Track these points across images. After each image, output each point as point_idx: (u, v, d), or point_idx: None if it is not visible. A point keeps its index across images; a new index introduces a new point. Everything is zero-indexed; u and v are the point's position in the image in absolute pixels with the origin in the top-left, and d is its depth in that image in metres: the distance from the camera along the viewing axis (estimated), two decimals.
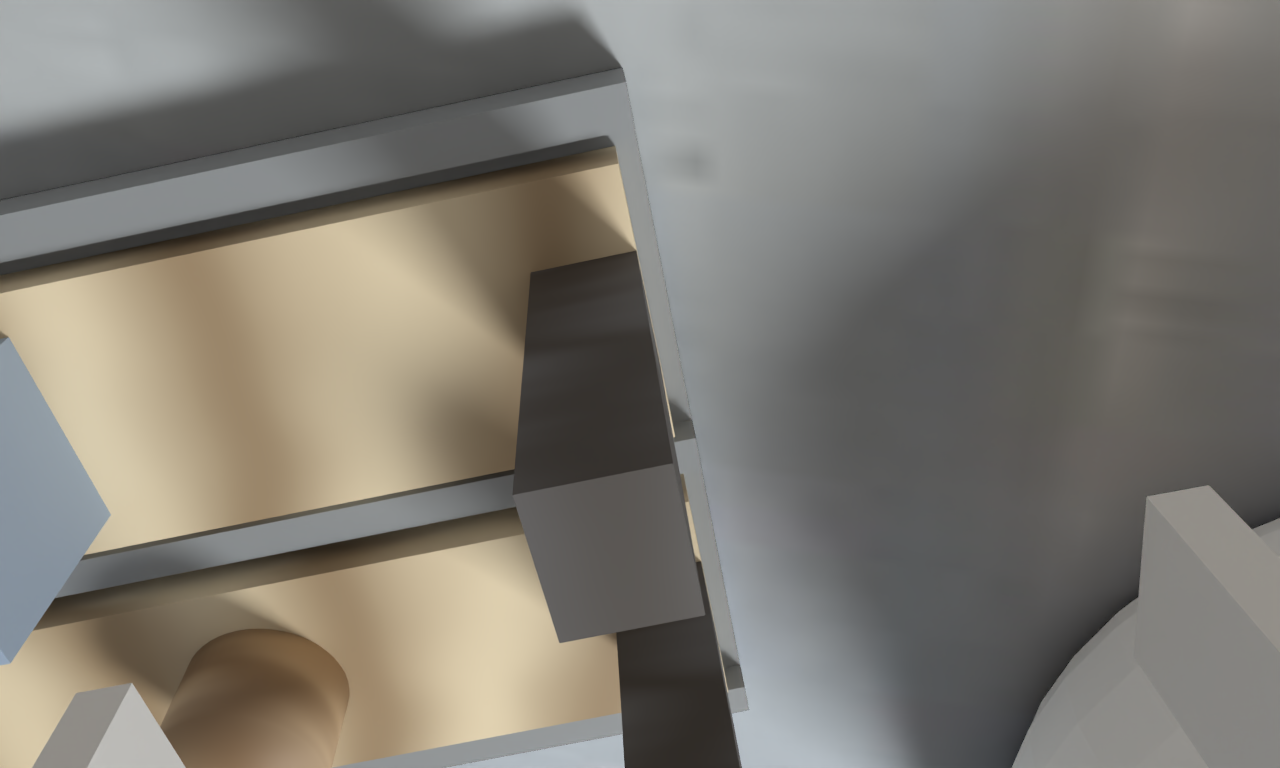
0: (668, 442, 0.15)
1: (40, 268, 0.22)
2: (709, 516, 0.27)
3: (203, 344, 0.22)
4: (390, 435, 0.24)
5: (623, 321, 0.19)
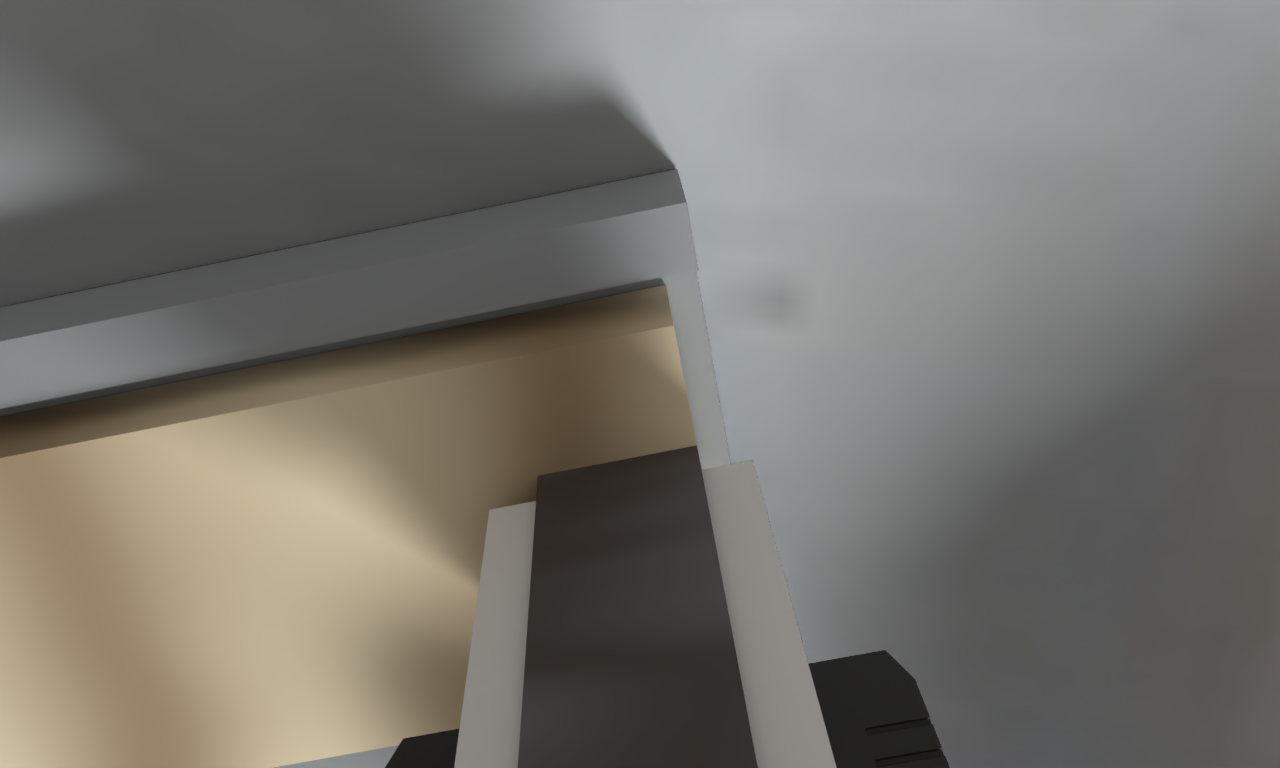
0: None
1: None
2: None
3: (54, 574, 0.15)
4: (335, 685, 0.16)
5: (687, 613, 0.11)
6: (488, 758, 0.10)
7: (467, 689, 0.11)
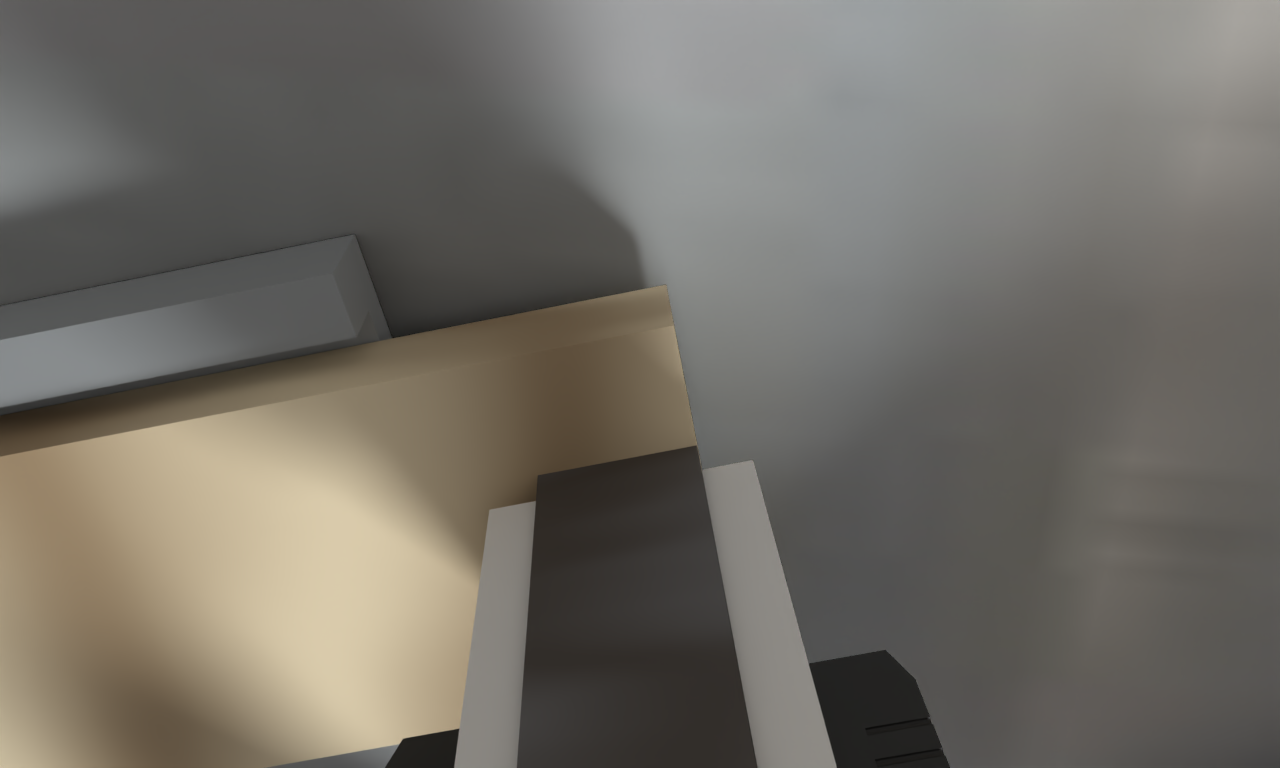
0: None
1: None
2: None
3: (54, 572, 0.15)
4: (335, 684, 0.16)
5: (687, 612, 0.11)
6: (488, 758, 0.10)
7: (467, 689, 0.11)
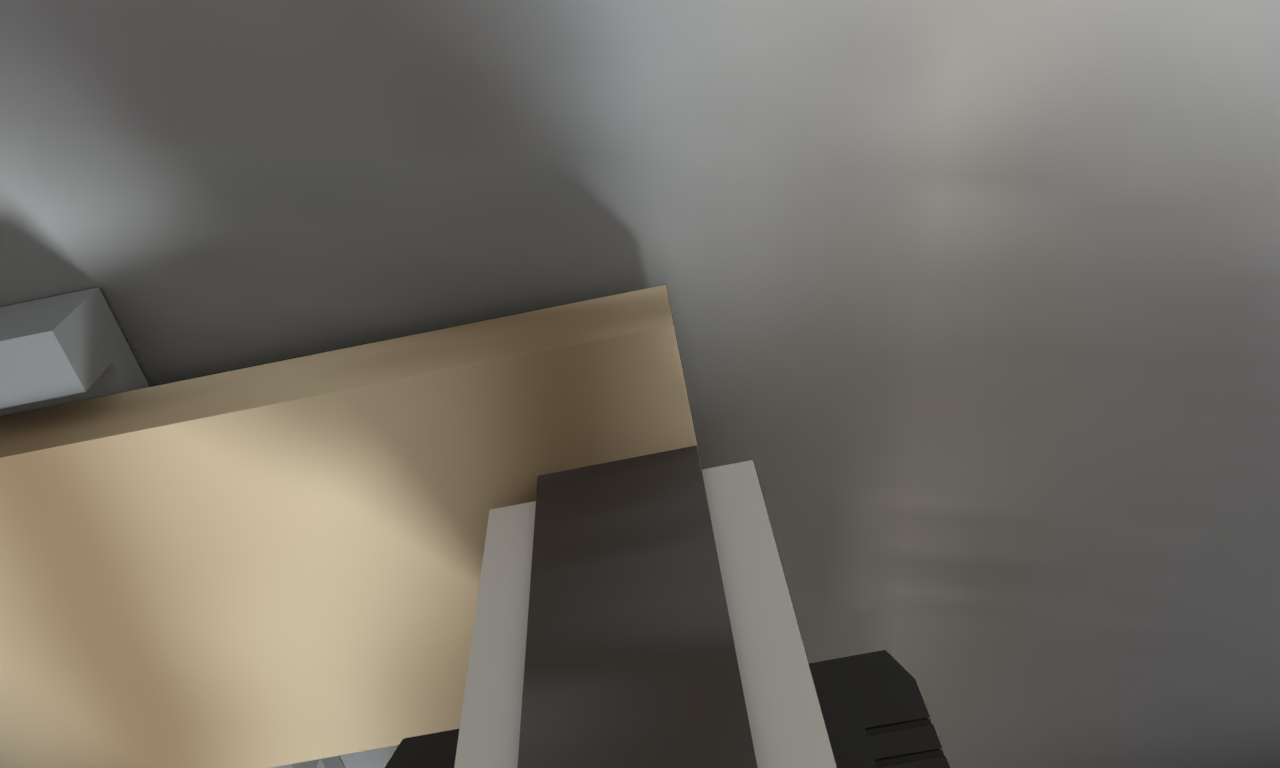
0: None
1: None
2: None
3: (54, 573, 0.15)
4: (335, 685, 0.16)
5: (687, 613, 0.11)
6: (488, 758, 0.10)
7: (467, 689, 0.11)
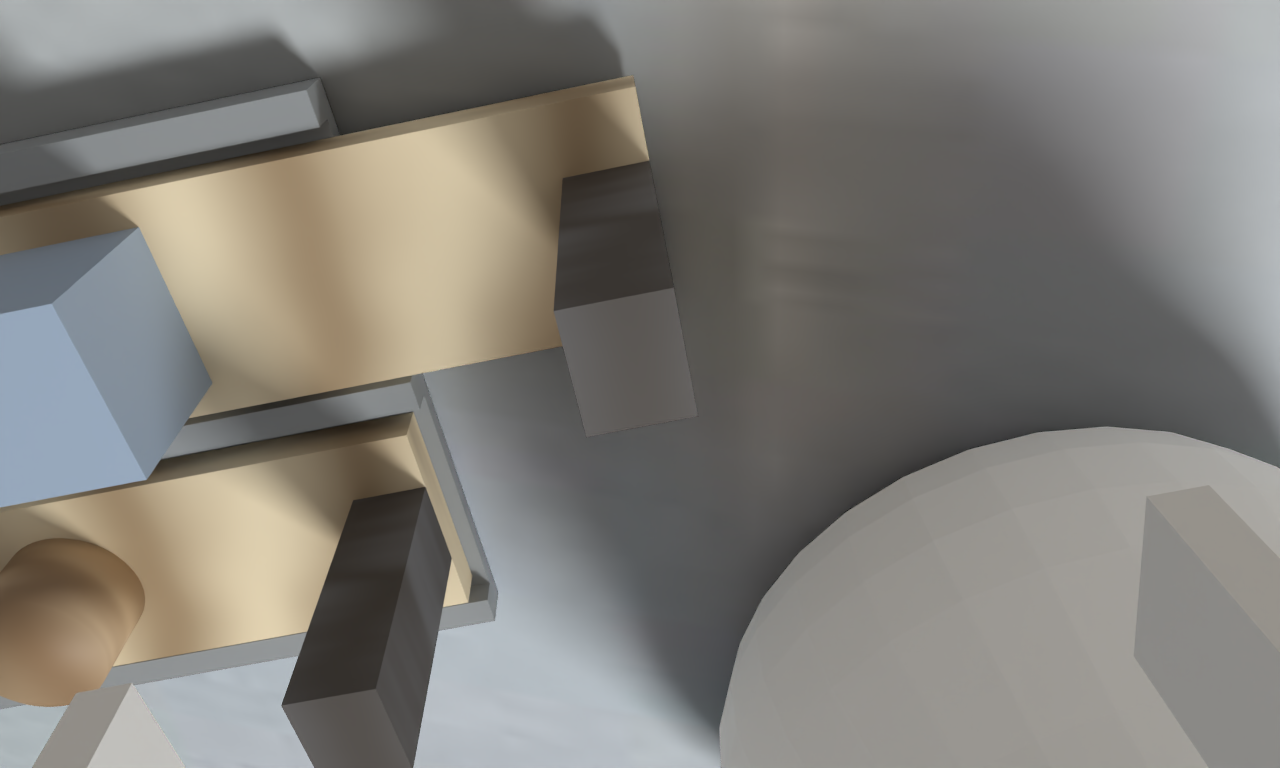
0: (670, 276, 0.20)
1: (162, 173, 0.27)
2: (442, 451, 0.32)
3: (295, 235, 0.27)
4: (444, 317, 0.28)
5: (637, 206, 0.23)
6: None
7: None
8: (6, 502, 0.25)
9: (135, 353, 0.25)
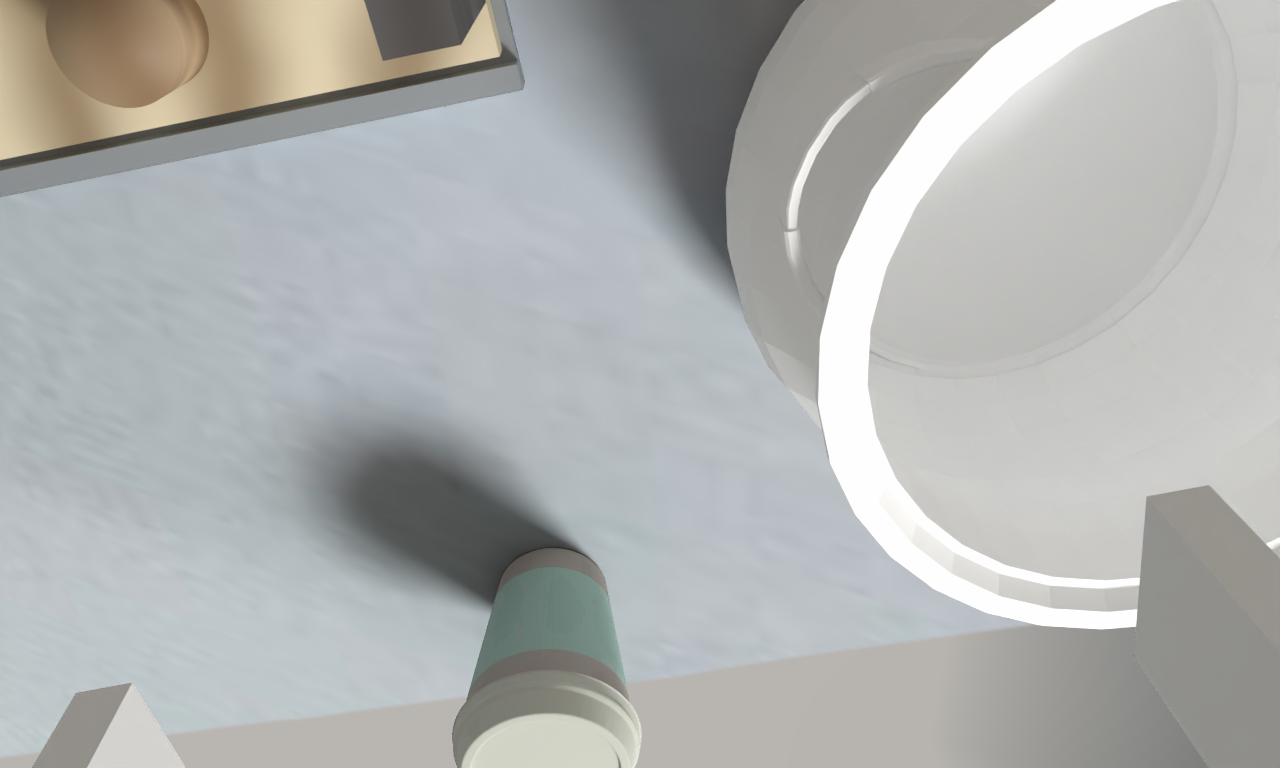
0: None
1: None
2: None
3: None
4: None
5: None
6: None
7: None
8: None
9: None
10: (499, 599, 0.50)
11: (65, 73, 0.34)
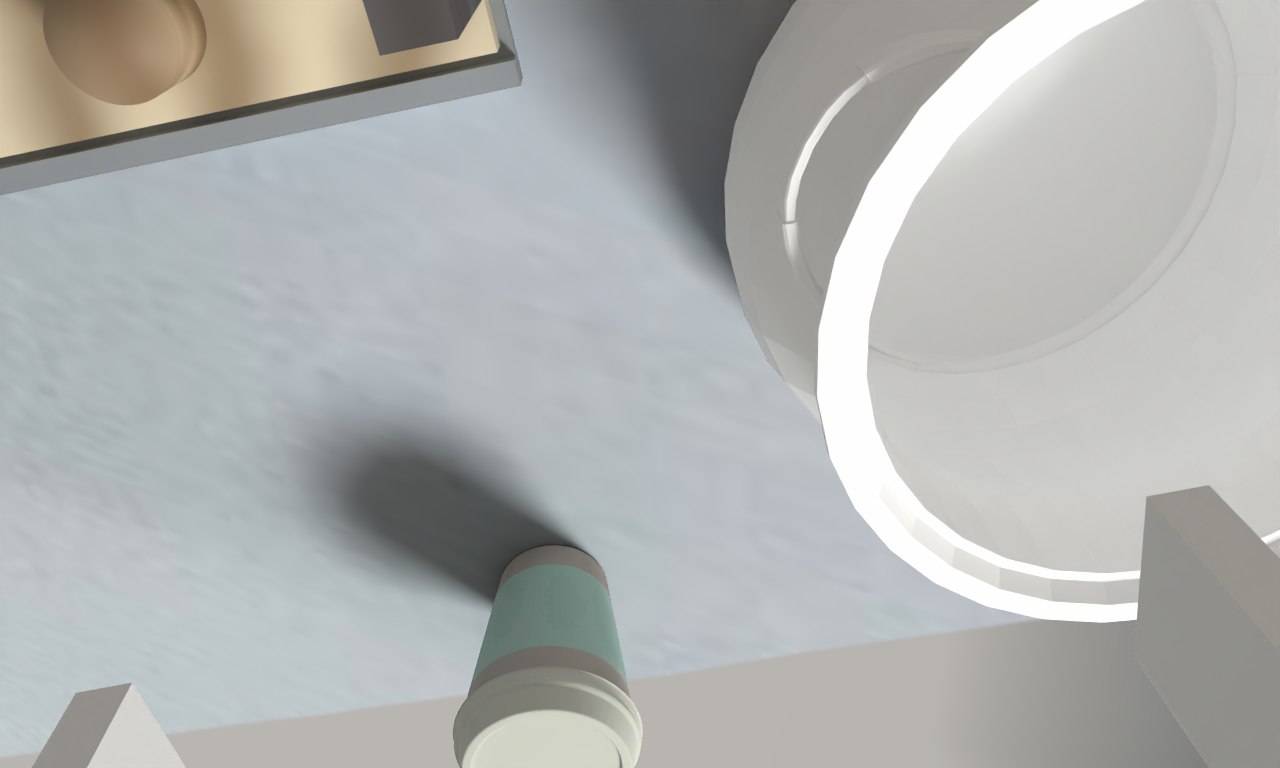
0: None
1: None
2: None
3: None
4: None
5: None
6: None
7: None
8: None
9: None
10: (500, 596, 0.49)
11: (63, 71, 0.34)
